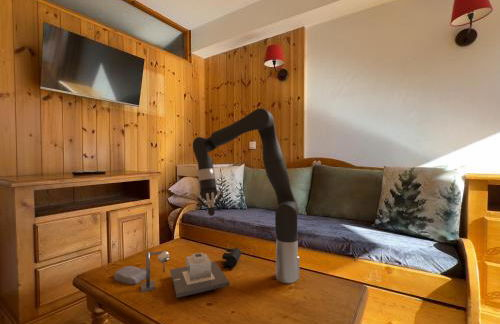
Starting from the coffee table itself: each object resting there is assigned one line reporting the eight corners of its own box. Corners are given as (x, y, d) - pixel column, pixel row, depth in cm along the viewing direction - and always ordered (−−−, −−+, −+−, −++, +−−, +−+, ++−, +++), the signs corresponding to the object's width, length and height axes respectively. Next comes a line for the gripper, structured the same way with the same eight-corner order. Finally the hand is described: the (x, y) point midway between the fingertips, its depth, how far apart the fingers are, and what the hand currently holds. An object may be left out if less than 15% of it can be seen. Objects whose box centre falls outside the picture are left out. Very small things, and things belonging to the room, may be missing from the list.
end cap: (236, 270, 113) (236, 255, 113) (222, 268, 114) (222, 254, 114) (241, 260, 123) (241, 247, 123) (227, 259, 124) (227, 246, 124)
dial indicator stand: (168, 280, 103) (168, 247, 103) (170, 286, 98) (170, 251, 98) (141, 286, 98) (141, 251, 98) (141, 292, 94) (141, 256, 94)
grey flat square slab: (214, 264, 114) (214, 261, 114) (229, 285, 96) (229, 281, 96) (170, 272, 106) (170, 269, 105) (176, 297, 87) (176, 293, 87)
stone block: (130, 275, 111) (111, 280, 102) (132, 264, 112) (113, 269, 103) (150, 281, 107) (132, 287, 98) (152, 269, 108) (134, 275, 99)
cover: (205, 269, 106) (205, 249, 106) (211, 278, 98) (211, 257, 98) (186, 273, 102) (186, 253, 102) (190, 282, 95) (190, 261, 94)
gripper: (194, 179, 110) (199, 218, 108) (222, 176, 115) (227, 213, 113) (191, 181, 116) (196, 217, 115) (218, 177, 122) (223, 212, 120)
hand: (211, 215), depth 114 cm, fingers closed
